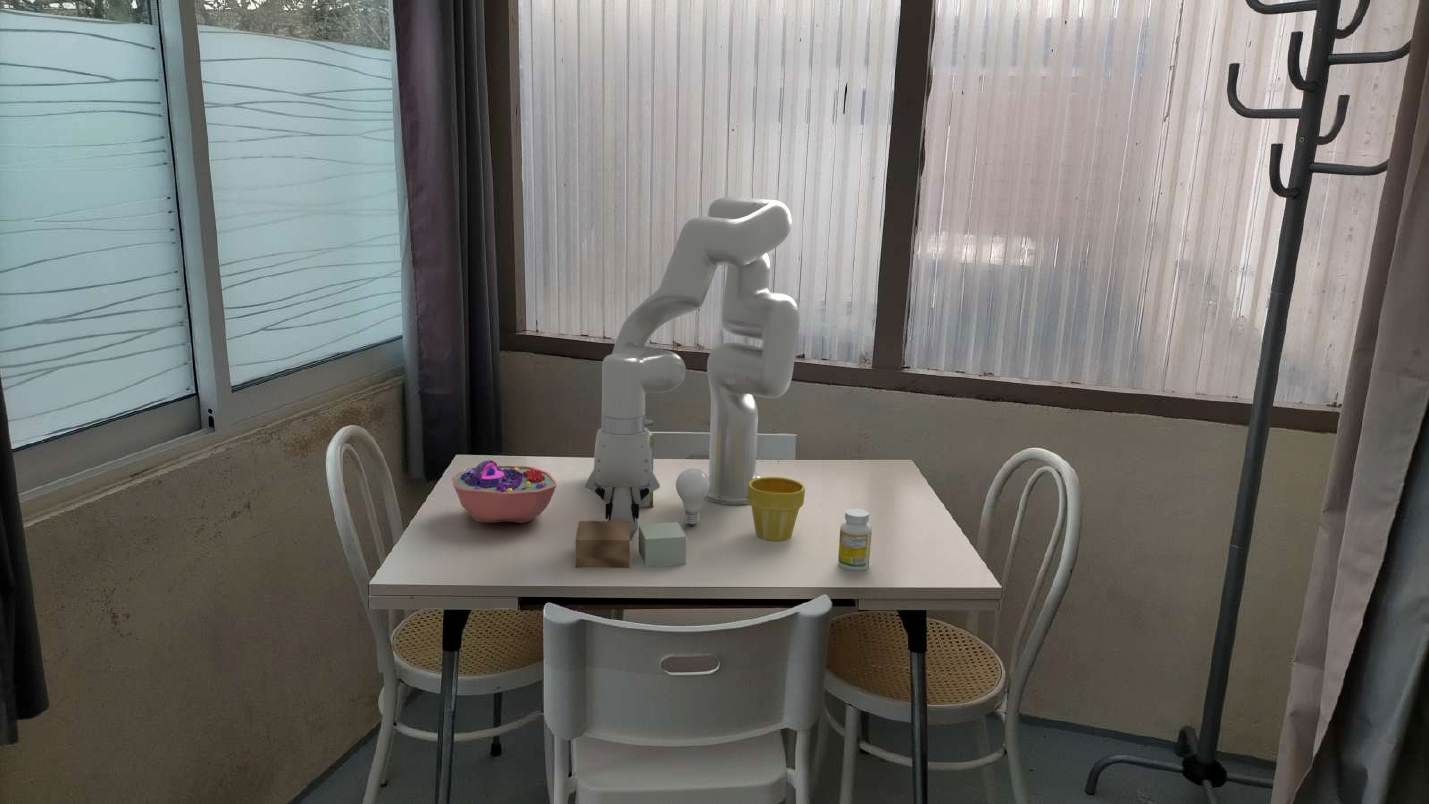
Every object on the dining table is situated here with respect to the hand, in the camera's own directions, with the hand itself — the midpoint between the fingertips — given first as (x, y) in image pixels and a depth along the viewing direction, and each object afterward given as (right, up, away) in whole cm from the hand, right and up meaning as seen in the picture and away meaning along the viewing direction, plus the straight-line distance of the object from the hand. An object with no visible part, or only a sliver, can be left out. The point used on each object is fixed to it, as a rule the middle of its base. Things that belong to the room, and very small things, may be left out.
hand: (622, 521), depth 184 cm
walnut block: (-2, -5, -8) cm, 10 cm away
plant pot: (+28, -3, +5) cm, 28 cm away
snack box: (-1, +3, +26) cm, 26 cm away
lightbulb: (+12, -2, +9) cm, 15 cm away
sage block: (+7, -5, -7) cm, 12 cm away
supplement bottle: (+41, -7, -8) cm, 42 cm away
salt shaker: (0, -3, +1) cm, 3 cm away
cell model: (-23, -1, +8) cm, 24 cm away
